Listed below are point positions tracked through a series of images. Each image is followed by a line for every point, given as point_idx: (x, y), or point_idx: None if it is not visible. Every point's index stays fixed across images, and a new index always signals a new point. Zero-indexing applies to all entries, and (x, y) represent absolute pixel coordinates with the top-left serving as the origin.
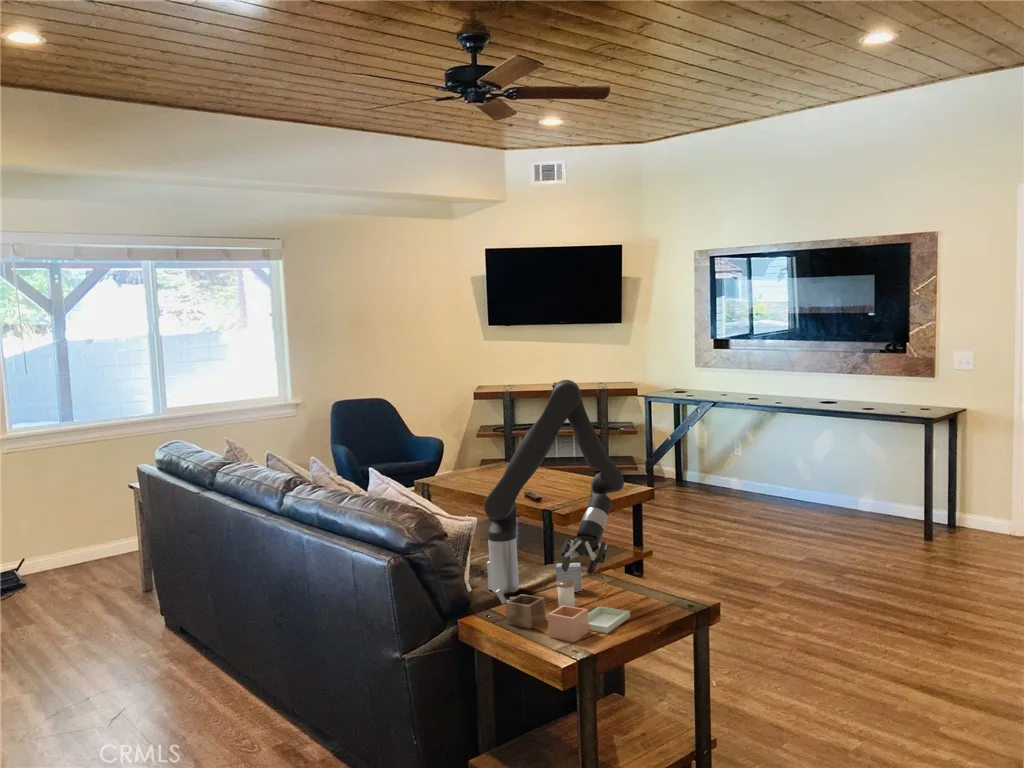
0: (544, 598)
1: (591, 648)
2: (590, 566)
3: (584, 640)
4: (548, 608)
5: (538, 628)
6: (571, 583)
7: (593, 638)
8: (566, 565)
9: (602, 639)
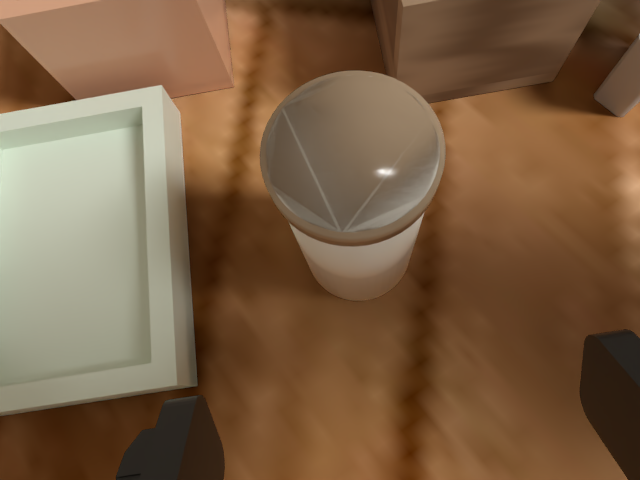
0: (403, 10)
1: None
2: (144, 468)
3: None
4: (558, 284)
5: (359, 28)
6: (269, 154)
7: (49, 91)
8: (628, 413)
9: (5, 106)
